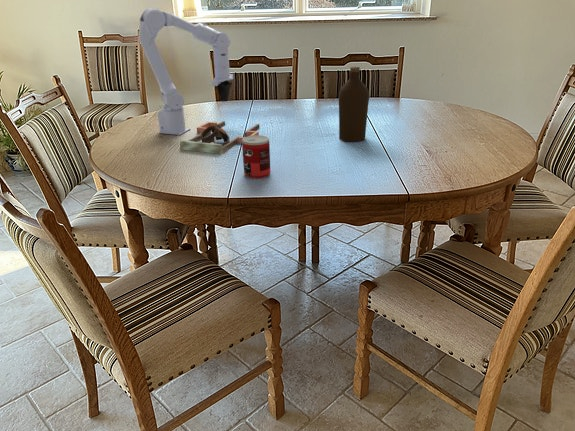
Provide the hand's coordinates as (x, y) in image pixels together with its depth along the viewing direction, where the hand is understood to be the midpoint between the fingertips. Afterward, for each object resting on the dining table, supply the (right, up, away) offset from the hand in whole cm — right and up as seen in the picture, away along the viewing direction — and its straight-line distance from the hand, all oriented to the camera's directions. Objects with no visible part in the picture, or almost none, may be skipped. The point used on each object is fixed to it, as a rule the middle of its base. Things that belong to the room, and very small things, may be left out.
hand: (224, 101), depth 192 cm
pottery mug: (0, -20, -19) cm, 28 cm away
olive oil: (+49, -18, -16) cm, 54 cm away
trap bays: (+2, -15, -9) cm, 18 cm away
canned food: (+16, -33, -46) cm, 59 cm away
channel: (+1, -17, -12) cm, 21 cm away
